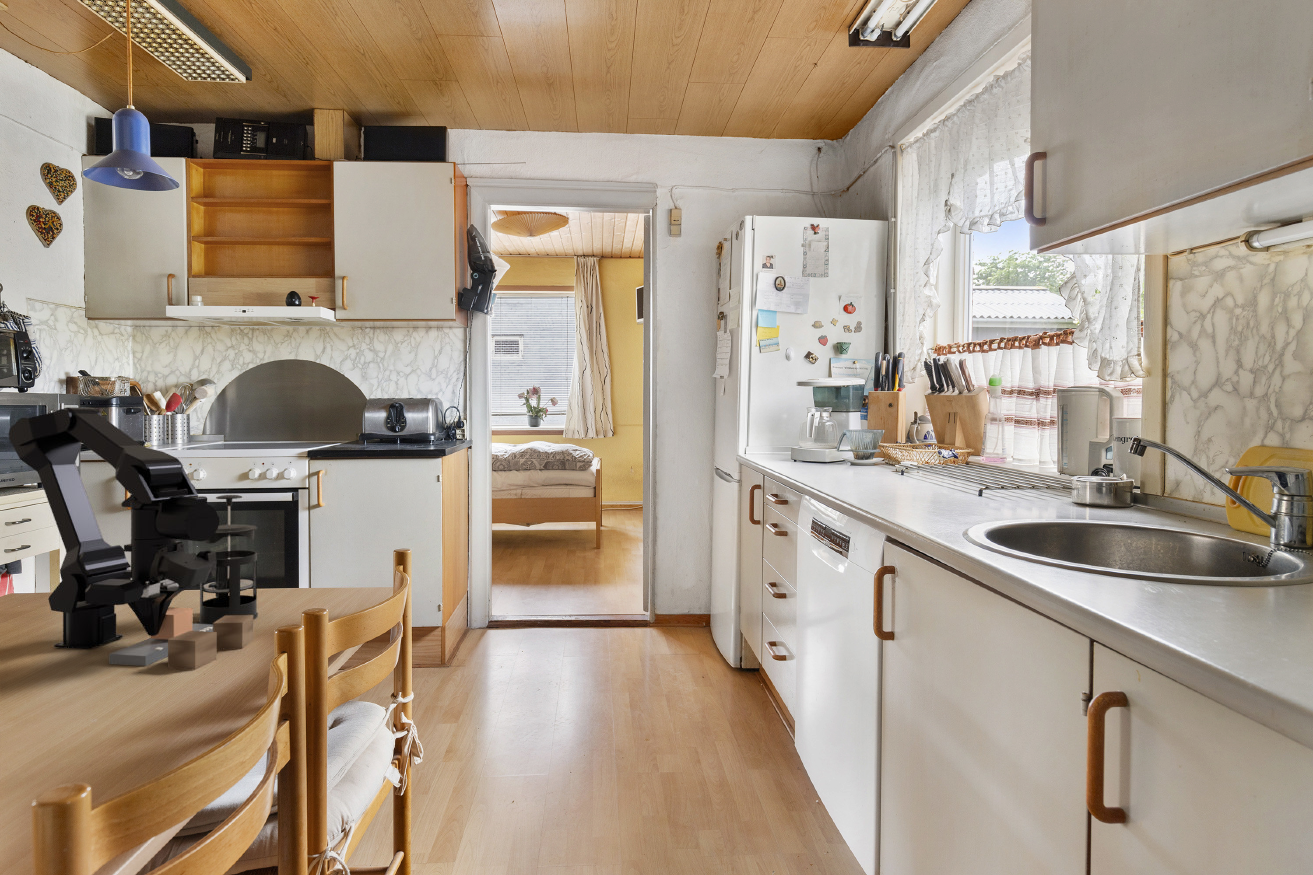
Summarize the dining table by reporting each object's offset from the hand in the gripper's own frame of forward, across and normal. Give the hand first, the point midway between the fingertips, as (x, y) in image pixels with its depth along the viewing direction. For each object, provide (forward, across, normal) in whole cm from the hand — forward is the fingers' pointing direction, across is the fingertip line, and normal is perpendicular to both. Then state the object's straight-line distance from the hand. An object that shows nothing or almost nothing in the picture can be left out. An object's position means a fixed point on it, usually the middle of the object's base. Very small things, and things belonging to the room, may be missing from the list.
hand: (153, 635), depth 112 cm
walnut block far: (+3, +6, -9) cm, 11 cm away
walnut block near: (+3, -3, -9) cm, 10 cm away
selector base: (+3, +3, 0) cm, 4 cm away
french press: (+3, +20, +2) cm, 20 cm away
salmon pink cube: (+1, +4, 0) cm, 4 cm away
